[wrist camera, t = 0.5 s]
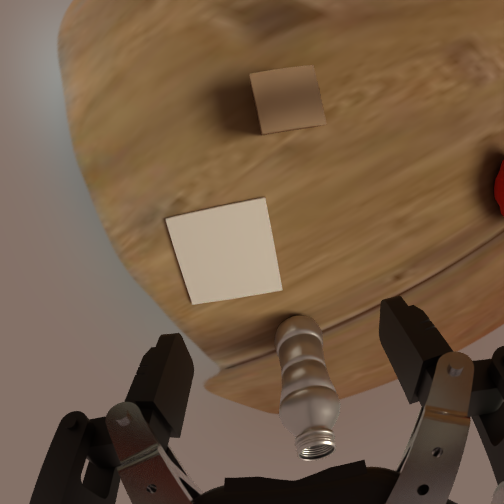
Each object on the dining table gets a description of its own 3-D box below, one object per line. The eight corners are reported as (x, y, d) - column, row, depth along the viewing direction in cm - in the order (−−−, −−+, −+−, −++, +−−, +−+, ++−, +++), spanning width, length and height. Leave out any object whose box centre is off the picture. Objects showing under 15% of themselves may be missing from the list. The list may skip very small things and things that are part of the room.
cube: (250, 85, 28) (249, 73, 22) (303, 77, 27) (313, 64, 22) (261, 135, 30) (262, 134, 25) (314, 127, 30) (326, 124, 24)
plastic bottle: (328, 319, 39) (366, 439, 20) (301, 352, 41) (320, 469, 23) (290, 301, 38) (312, 429, 19) (264, 336, 40) (267, 461, 21)
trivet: (166, 217, 34) (165, 219, 33) (265, 196, 33) (265, 197, 32) (193, 302, 38) (192, 304, 38) (282, 287, 37) (282, 290, 36)
